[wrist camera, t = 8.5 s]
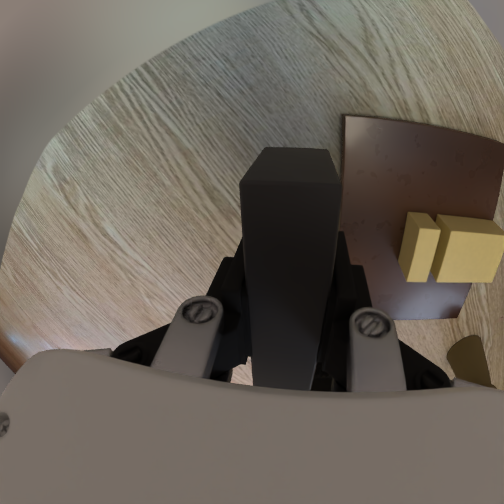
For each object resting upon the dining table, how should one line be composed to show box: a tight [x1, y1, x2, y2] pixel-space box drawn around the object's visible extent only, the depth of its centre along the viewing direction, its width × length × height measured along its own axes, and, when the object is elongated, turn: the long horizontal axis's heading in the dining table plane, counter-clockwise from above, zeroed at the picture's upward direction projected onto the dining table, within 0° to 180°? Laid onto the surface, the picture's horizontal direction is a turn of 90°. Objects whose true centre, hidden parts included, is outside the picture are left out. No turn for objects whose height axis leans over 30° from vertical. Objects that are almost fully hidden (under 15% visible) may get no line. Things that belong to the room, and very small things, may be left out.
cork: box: [447, 335, 497, 389], centre depth 25 cm, size 6×6×11 cm
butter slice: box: [398, 212, 441, 282], centre depth 21 cm, size 5×2×3 cm, turn 4°
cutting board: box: [338, 114, 504, 320], centre depth 23 cm, size 20×16×2 cm
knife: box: [239, 147, 343, 391], centre depth 13 cm, size 20×2×4 cm, turn 3°
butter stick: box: [430, 214, 504, 283], centre depth 20 cm, size 5×7×3 cm
